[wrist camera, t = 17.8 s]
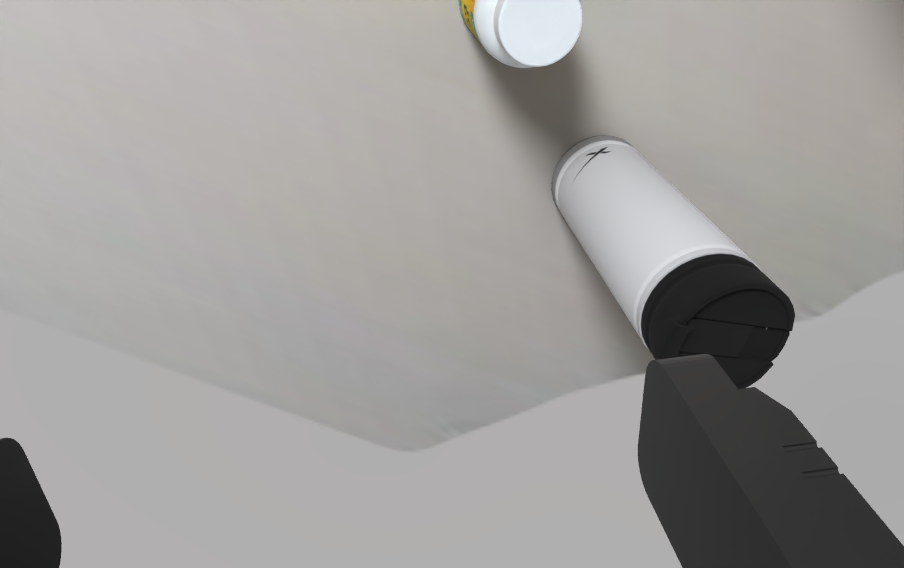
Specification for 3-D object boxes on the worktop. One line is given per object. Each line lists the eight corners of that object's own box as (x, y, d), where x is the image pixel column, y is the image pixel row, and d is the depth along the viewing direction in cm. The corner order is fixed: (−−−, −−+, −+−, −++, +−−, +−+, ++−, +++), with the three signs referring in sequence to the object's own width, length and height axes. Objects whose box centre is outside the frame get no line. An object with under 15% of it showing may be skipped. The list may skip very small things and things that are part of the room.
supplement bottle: (566, -10, 42) (622, 19, 33) (502, 61, 43) (540, 106, 35) (501, -80, 39) (543, -68, 31) (436, -2, 41) (460, 29, 33)
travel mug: (562, 124, 46) (694, 277, 28) (655, 144, 47) (834, 300, 30) (533, 213, 48) (638, 401, 31) (622, 229, 50) (768, 417, 33)
